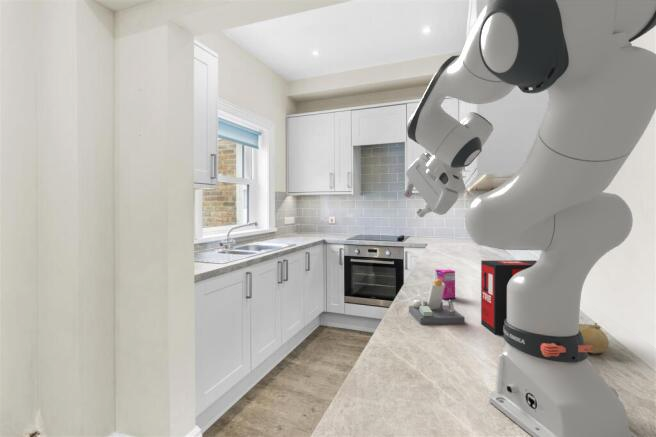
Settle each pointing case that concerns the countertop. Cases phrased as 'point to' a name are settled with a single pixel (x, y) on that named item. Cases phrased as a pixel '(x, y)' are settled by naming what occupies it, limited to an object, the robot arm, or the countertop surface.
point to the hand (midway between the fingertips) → (412, 205)
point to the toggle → (451, 307)
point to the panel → (437, 315)
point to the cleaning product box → (497, 291)
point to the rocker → (425, 311)
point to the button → (417, 303)
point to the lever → (435, 294)
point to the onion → (594, 338)
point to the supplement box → (447, 282)
